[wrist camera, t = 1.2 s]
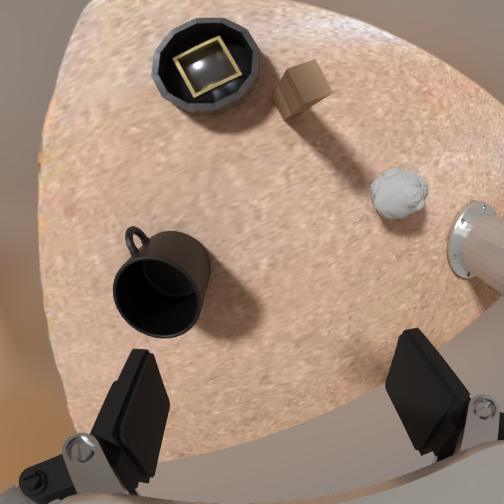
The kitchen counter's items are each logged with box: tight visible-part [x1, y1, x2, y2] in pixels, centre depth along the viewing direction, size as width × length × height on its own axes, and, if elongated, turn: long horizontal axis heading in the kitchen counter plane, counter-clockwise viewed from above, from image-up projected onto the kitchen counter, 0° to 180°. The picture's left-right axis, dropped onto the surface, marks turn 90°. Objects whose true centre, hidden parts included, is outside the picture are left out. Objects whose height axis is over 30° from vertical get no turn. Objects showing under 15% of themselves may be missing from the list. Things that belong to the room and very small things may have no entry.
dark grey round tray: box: [151, 18, 260, 114], centre depth 26 cm, size 11×11×4 cm
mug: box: [113, 226, 210, 338], centre depth 31 cm, size 9×12×9 cm
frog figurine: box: [370, 168, 428, 220], centre depth 29 cm, size 6×7×7 cm
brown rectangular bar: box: [272, 59, 333, 120], centre depth 24 cm, size 2×3×12 cm
